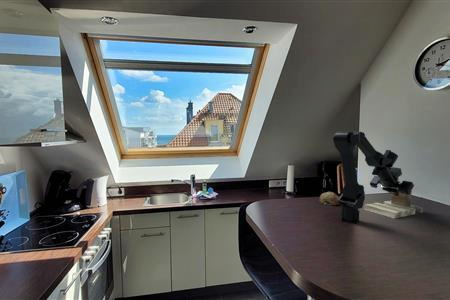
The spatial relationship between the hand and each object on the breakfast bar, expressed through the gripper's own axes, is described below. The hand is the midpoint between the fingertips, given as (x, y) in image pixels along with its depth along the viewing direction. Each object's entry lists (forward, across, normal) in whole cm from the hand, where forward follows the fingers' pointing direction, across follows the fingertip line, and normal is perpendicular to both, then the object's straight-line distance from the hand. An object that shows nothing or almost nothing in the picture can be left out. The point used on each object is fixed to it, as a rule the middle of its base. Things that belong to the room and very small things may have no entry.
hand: (397, 195), depth 135 cm
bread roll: (-9, +24, +20) cm, 32 cm away
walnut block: (+6, 0, +1) cm, 6 cm away
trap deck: (+3, 0, +7) cm, 8 cm away
